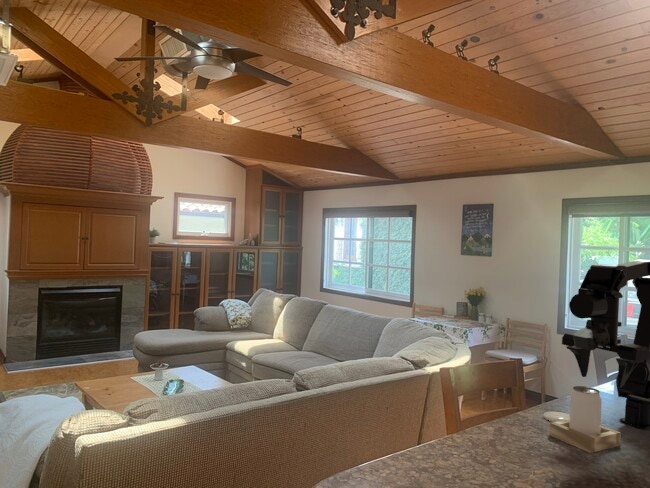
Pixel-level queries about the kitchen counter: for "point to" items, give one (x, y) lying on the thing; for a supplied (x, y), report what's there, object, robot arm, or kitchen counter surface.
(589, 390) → the can
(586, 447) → the socket block
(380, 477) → the kitchen counter surface
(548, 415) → the coaster
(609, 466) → the kitchen counter surface
